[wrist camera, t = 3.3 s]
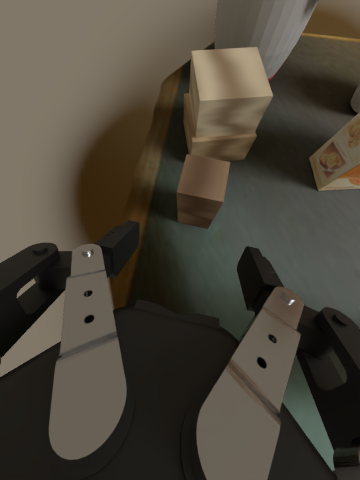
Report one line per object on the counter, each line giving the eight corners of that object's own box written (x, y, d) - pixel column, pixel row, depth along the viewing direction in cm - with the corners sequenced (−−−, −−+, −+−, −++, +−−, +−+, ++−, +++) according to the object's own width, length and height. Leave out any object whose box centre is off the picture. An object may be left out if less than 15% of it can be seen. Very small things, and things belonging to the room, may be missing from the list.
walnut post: (213, 201, 26) (230, 162, 17) (207, 228, 24) (223, 201, 16) (184, 195, 26) (186, 154, 17) (177, 222, 25) (176, 192, 16)
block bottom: (232, 118, 30) (242, 88, 25) (243, 160, 28) (256, 136, 23) (183, 123, 30) (184, 93, 25) (190, 165, 28) (192, 142, 23)
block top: (242, 90, 25) (257, 46, 20) (253, 133, 23) (273, 95, 18) (189, 94, 25) (191, 50, 20) (195, 138, 23) (199, 100, 18)
